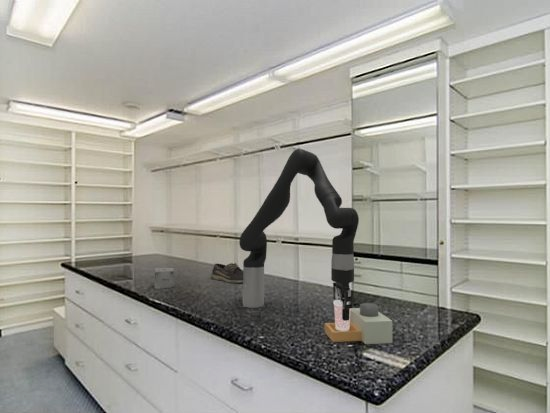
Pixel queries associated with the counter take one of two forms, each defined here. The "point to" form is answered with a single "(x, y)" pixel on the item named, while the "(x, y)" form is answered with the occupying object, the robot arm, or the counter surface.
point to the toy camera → (363, 326)
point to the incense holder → (164, 278)
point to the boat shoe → (227, 273)
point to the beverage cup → (340, 317)
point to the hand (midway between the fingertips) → (342, 316)
